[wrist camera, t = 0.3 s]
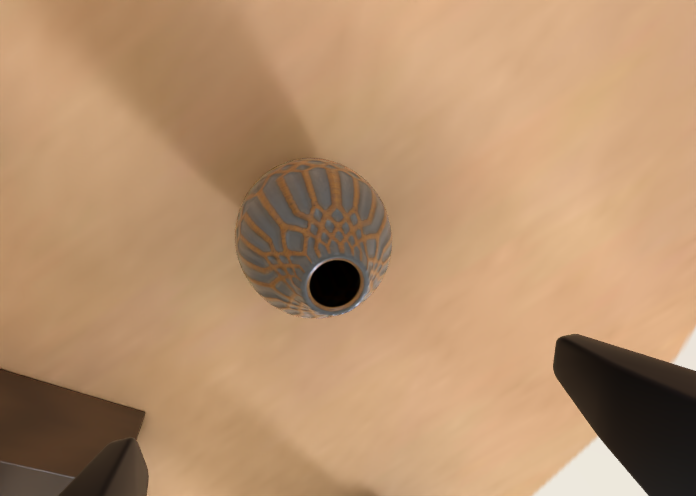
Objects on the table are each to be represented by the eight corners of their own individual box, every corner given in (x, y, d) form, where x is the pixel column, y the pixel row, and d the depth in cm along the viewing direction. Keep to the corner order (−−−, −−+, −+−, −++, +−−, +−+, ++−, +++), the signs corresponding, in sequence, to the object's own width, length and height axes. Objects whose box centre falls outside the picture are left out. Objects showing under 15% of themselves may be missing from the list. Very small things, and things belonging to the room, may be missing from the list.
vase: (234, 270, 22) (225, 372, 14) (241, 141, 20) (236, 173, 12) (355, 275, 24) (410, 368, 16) (375, 157, 21) (450, 195, 13)
